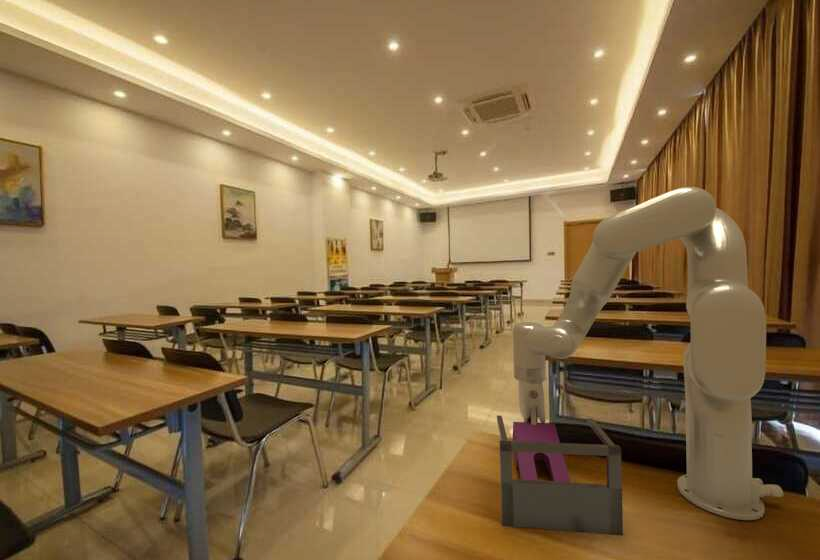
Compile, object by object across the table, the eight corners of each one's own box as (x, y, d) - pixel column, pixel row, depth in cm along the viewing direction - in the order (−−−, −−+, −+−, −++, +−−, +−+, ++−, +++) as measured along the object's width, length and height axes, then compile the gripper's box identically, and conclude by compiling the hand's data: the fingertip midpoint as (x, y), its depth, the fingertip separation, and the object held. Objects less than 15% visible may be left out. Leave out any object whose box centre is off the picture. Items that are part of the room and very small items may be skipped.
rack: (596, 491, 71) (595, 418, 71) (623, 535, 59) (621, 448, 59) (496, 484, 74) (494, 415, 74) (502, 525, 62) (499, 443, 62)
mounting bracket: (571, 526, 70) (551, 447, 85) (575, 501, 66) (554, 423, 82) (522, 522, 71) (512, 445, 87) (524, 497, 67) (513, 421, 83)
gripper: (552, 382, 79) (553, 461, 79) (539, 364, 93) (540, 431, 94) (518, 381, 80) (519, 459, 80) (510, 363, 95) (511, 430, 95)
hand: (530, 444), depth 87 cm, fingers closed
